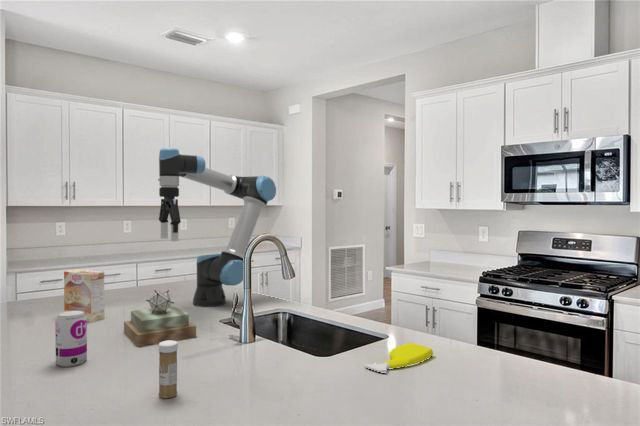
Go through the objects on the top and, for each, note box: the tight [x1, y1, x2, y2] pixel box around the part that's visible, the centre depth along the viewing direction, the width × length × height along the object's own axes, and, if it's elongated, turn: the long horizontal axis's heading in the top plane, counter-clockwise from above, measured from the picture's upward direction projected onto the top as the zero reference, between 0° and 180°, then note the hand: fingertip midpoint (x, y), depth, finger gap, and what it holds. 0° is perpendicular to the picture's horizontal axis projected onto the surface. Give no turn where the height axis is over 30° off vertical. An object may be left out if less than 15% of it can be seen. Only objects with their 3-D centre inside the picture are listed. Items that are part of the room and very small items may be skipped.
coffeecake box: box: [63, 268, 105, 323], centre depth 188 cm, size 15×7×20 cm, turn 68°
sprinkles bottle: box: [158, 340, 179, 399], centre depth 116 cm, size 5×5×13 cm
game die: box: [145, 289, 175, 313], centre depth 167 cm, size 9×8×10 cm
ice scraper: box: [363, 342, 434, 373], centre depth 142 cm, size 3×11×24 cm
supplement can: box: [54, 310, 88, 368], centre depth 138 cm, size 8×8×15 cm
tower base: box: [123, 305, 197, 348], centre depth 167 cm, size 20×20×8 cm
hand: (169, 239), depth 186 cm, fingers open, 13 cm apart
